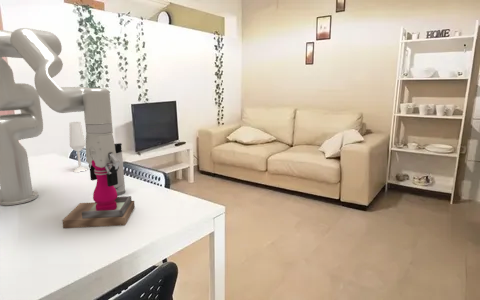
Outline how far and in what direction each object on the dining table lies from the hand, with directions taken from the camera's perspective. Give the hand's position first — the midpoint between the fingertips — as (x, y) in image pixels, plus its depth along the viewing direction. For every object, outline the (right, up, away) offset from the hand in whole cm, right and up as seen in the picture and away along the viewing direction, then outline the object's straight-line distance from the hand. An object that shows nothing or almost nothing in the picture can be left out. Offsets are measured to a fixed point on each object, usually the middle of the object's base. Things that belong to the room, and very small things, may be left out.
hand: (104, 182), depth 100 cm
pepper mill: (0, -9, +2) cm, 9 cm away
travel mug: (-5, -7, +24) cm, 26 cm away
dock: (-2, -12, +2) cm, 12 cm away
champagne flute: (-36, 0, +57) cm, 67 cm away
